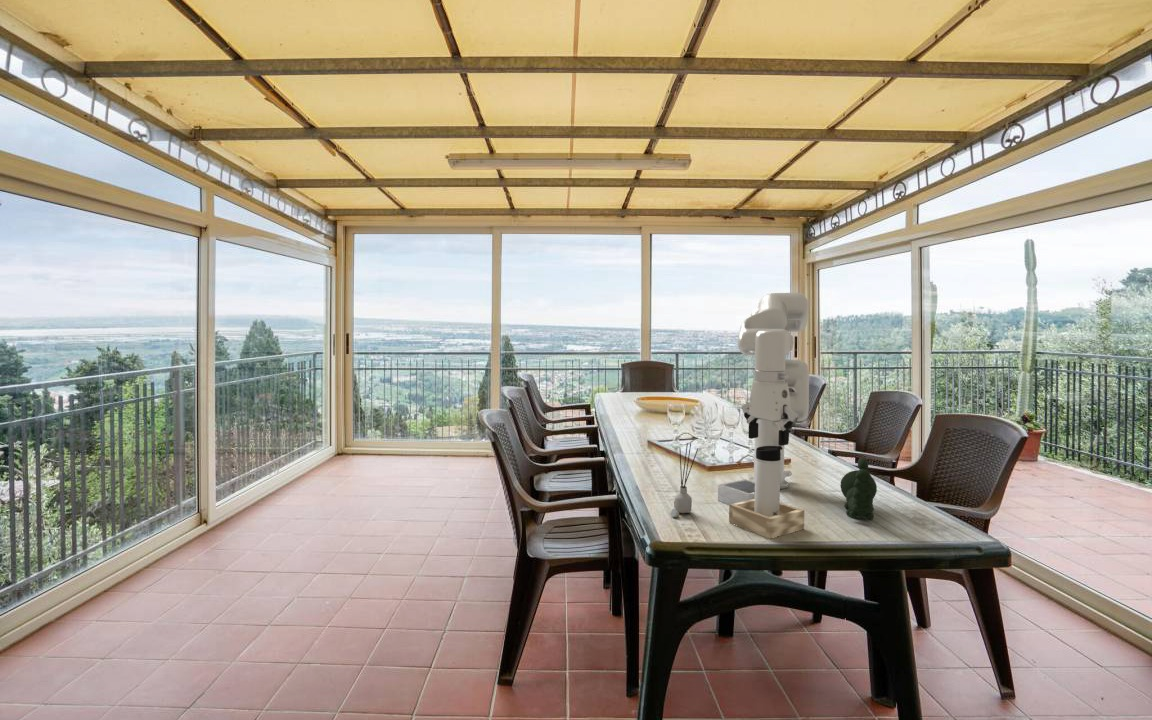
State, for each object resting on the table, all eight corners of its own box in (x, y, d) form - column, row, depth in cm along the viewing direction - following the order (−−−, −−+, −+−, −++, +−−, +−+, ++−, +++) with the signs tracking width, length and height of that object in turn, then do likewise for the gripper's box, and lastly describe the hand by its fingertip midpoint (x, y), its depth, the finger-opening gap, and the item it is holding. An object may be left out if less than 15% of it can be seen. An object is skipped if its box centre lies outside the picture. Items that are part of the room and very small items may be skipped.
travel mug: (782, 525, 141) (784, 449, 140) (755, 523, 143) (757, 448, 142) (778, 517, 147) (780, 444, 146) (752, 515, 149) (754, 443, 148)
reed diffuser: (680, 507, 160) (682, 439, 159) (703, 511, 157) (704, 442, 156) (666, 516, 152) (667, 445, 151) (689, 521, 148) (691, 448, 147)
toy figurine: (881, 535, 143) (873, 500, 166) (885, 466, 141) (876, 440, 163) (841, 530, 147) (838, 496, 170) (844, 462, 145) (841, 437, 167)
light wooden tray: (762, 514, 154) (762, 496, 154) (803, 529, 143) (804, 510, 143) (728, 522, 147) (729, 504, 147) (769, 539, 136) (770, 519, 136)
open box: (744, 494, 173) (745, 479, 173) (776, 505, 163) (777, 488, 162) (717, 500, 167) (718, 484, 166) (748, 511, 156) (749, 494, 156)
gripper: (807, 379, 138) (805, 446, 139) (753, 373, 152) (751, 433, 154) (788, 381, 134) (786, 449, 135) (734, 375, 149) (732, 437, 150)
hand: (767, 441), depth 145 cm, fingers open, 9 cm apart
